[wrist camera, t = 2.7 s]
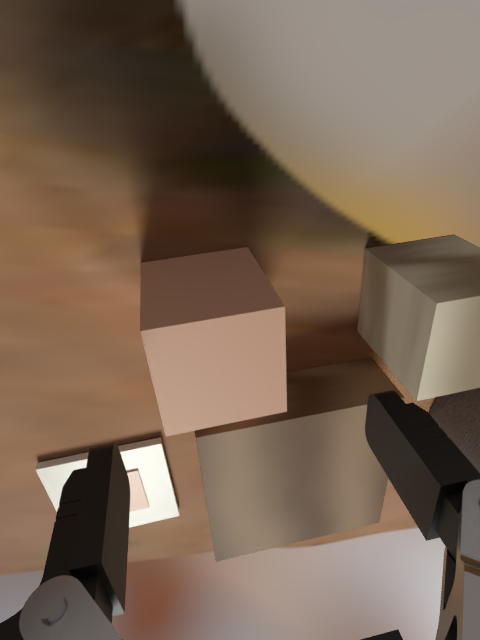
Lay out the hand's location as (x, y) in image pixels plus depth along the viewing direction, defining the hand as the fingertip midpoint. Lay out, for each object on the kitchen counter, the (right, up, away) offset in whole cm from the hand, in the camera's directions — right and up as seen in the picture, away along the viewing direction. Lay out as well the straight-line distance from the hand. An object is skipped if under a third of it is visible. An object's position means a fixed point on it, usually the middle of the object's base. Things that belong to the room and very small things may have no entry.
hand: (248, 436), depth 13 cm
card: (-8, -7, +13) cm, 16 cm away
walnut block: (+2, -4, +14) cm, 15 cm away
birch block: (+9, +6, +9) cm, 14 cm away
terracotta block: (-2, +5, +7) cm, 9 cm away
